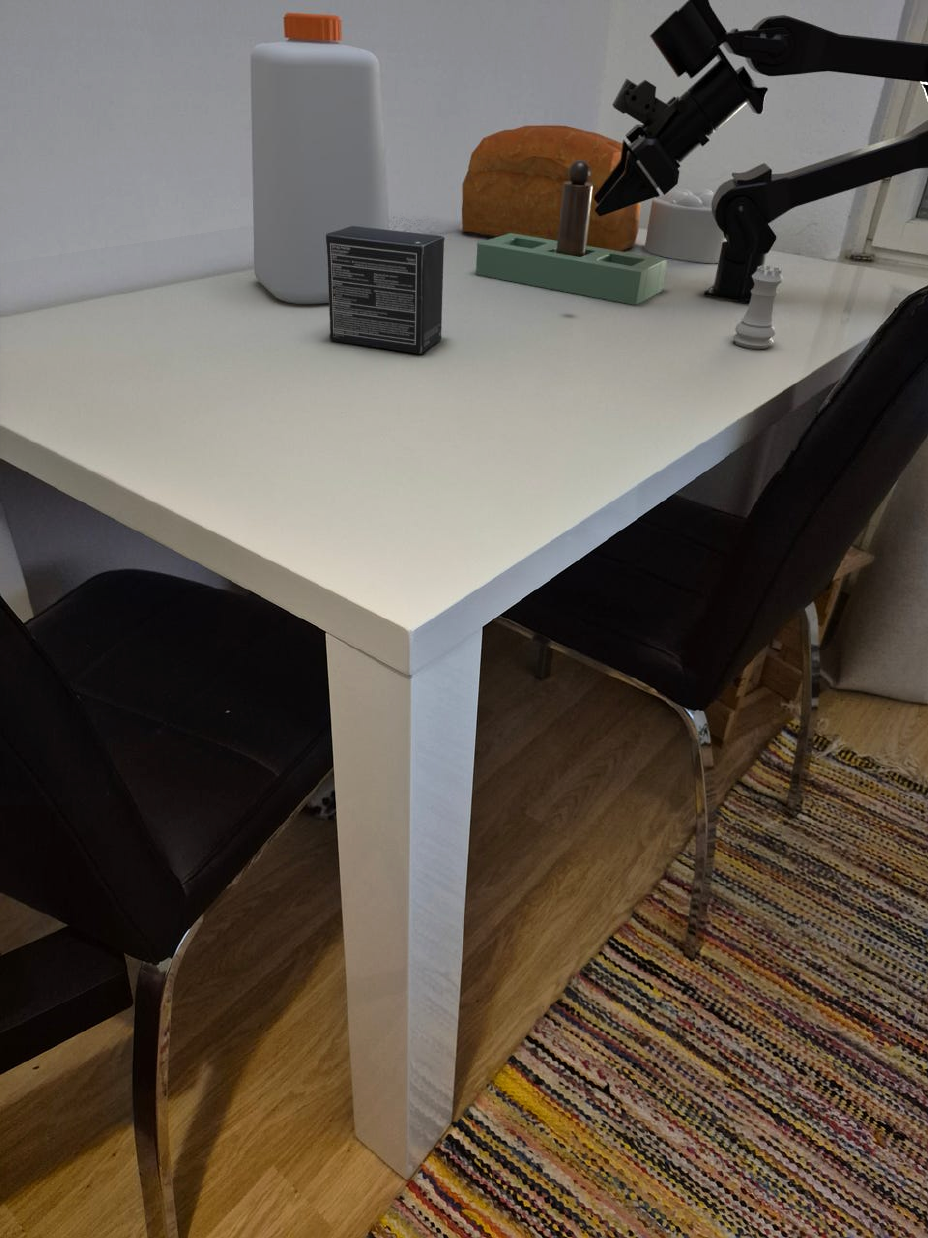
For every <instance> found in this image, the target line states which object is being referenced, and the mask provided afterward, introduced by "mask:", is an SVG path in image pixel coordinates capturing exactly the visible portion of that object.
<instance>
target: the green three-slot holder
mask: <svg viewBox="0 0 928 1238" xmlns="http://www.w3.org/2000/svg"><path fill="white" fill-rule="evenodd" d="M476 244H477V245H476V247H477V248H476V261H475V263H476V264H475V275H477V276H481V277H486V278H490V279H491V278H492V279H497V280H502V281H507V282H513V283H519V284H522V285H528V286H533V287H539V288H544V289H548V290H549V289H550V290H555V291H559V292H565V293H570V294H574V295H579V296H586V297H591V298H596V299H601V300H606V301H612V302H615V303H616V302H617V303H622V304H627V305H632V306H637V305H640V304H641V303H643V302H644V301H646V300H649V299H650V298H652V297H654V296H656V295H658V294H660V293H661V292H663V287H664V283H665V276H666V270H667V264H668V258H663V257H656V256H651V255H645V254H638V253H633V252H626V251H615V250H609V249H603V248H597V247H591V246H586V252H585V256H582V257H577V256H571V255H565V254H559V253H556V250H557V241H555V240H549V239H543V238H537V237H531V236H525V235H519V234H513V233H509V234H506V235H503V236H499V237H494V238H490V239H487V240H483V241H480V242H477V243H476Z"/></svg>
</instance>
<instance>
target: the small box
mask: <svg viewBox="0 0 928 1238" xmlns="http://www.w3.org/2000/svg"><path fill="white" fill-rule="evenodd" d="M326 244H327V257H328V285H329V303H328V305H329V308H328V309H329V340H330V341H332V342H337V343H344V344H351V345H357V346H364V347H365V346H366V347H372V348H376V349H377V348H378V349H384V350H392V351H398V352H405V353H411V354H416V355H417V354H418V355H421V354H423V353H425V352H426V351H427V350H428V349H429V348H431V347H432V346H434V345H435V344H436V343H438V342H439V341H440V340H441V339H442V324H443V322H442V321H443V285H444V282H443V281H444V253H445V251H444V250H445V236H444V235H437V234H427V233H419V232H410V231H402V230H401V231H400V230H393V229H392V230H391V229H390V230H384V229H375V228H367V227H357V226H351V227H348V228H345V229H341V230H338V231H334V232H331V233H327V234H326Z"/></svg>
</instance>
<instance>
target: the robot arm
mask: <svg viewBox="0 0 928 1238" xmlns="http://www.w3.org/2000/svg"><path fill="white" fill-rule="evenodd" d="M649 37H650V39H651V40H652V42H653V43H654V44H655V46H656V47H657V49H658V51H659V52H660V53H661V55H662V56H663V58H664V59H665V61H666V62H667V64H668V65H669V67H670V68H671V69H672V71H673V73H674V74H675V75H676V77H677V78H680V77H681V76H682V75H683V74H687V76H688V77H689V79H690V80H691V79H693V78H694V77H696V76H698V74H699V73H700V72H701V71H703V69H705V68H706V67H707V66H708V65H709V64H710V63H711V62H712V61H714V59H715V58H717V59H718V61H717V62H716V63H715V64H714V65H713V66H712V67H711V68H709V69H708V70H707V71H706V72H705V73H704V74H703V75H702V76H700V78H699V79H697V81H696V82H695V83H694V84H692V85H691V86H690V87H689V88H688V89H687V90H686V91H684V92H683V94H681V96H673V97H671V98H670V99H669V100H668V101H667V102H664V101H663V100H661V99H660V98H658V97H656V93H657V86H656V85H654V84H653V83H651V82H650V81H648V80H646V79H644V80H642V81H641V82H640V83H638V84H636V83H635V82H633V81H631V80H630V79H628V78H626V79H625V80H624V82H623V84H622V86H621V88H620V90H619V91H618V93H617V95H616V97H615V99H614V101H613V103H612V107H613V108H614V109H615V110H617V111H618V112H620V113H621V114H623V115H625V114H627V116H630V117H632V119H634V120H636V121H638V122H639V123H641V124H639V123H638V124H635V125H634V126H633V127H632V128H631V129H630V130H629V131H628V132H627V133H625V138H626V139H627V140H628V141H629V143H627V141H626V140H625V138H624V139H623V140H622V142H621V143H622V152H621V159H620V161H619V162H618V164H617V165H616V167H615V168H614V169H613V171H612V172H611V174H610V175H609V176H608V178H607V179H606V180H605V182H604V183H603V185H602V186H601V187H600V189H599V190H598V191H597V193H596V194H595V196H594V200H595V201H596V202H597V203H598V205H597V207H596V208H595V212H596V213H597V214H598V215H599V216H603V215H606V214H609V213H611V212H614V211H617V210H620V209H622V208H625V207H628V206H631V205H634V204H637V203H640V202H641V203H642V202H645V201H648V200H650V199H653V198H655V197H659V196H661V193H662V195H663V194H664V195H666V194H667V193H669V192H671V191H672V189H674V188H675V187H676V186H677V185H678V184H679V178H680V172H681V171H680V170H679V169H680V167H681V165H680V164H681V163H682V162H683V161H684V160H685V159H686V158H688V156H689V155H691V154H692V153H693V152H694V151H695V150H696V149H698V147H700V146H701V147H704V146H705V145H706V144H707V143H709V142H710V138H709V137H711V136H712V135H713V134H714V133H715V132H717V131H718V130H719V129H720V128H721V127H722V126H723V125H724V124H726V123H727V122H728V121H729V120H730V119H731V118H732V117H733V116H734V115H736V114H737V113H738V112H739V111H740V110H741V109H742V108H743V107H744V106H746V105H748V107H749V108H750V110H751V111H752V113H754V114H757V115H762V114H763V112H764V105H765V98H766V95H767V93H768V91H769V89H768V87H767V86H758V85H757V84H756V83H755V81H754V79H753V78H752V76H751V75H750V74H749V72H748V71H747V69H746V67H745V66H743V65H742V66H741V67H739V68H737V69H735V68H734V67H733V65H732V63H731V62H730V61H729V59H728V58H727V56H726V55H725V53H724V51H723V50H722V49H721V47H720V46H724V49H725V50H726V52H727V53H728V54H732V55H734V56H738V57H742V58H745V61H746V63H747V64H748V67H749V68H750V70H752V71H753V72H754V73H757V74H759V75H764V76H767V77H784V76H794V75H804V74H814V73H825V72H831V73H840V74H847V75H848V74H849V75H858V76H864V77H865V76H867V77H875V78H883V79H892V80H901V81H910V82H917V83H918V82H919V83H920V84H921V86H922V88H923V90H924V93H925V97H926V100H927V101H928V43H921V42H911V41H903V40H896V39H885V38H877V37H867V36H861V35H860V36H859V35H850V34H842V33H837V32H834V31H831V30H828V29H826V28H823V27H820V26H817V25H815V24H813V23H809V22H807V21H804V20H801V19H798V18H795V17H792V16H790V15H785V14H780V15H770V16H767V17H764V18H762V19H760V20H759V21H758V22H757V23H756V24H755V25H754V26H752V28H751V29H744V30H739V29H738V28H732V29H731V30H730V31H729V32H727V30H726V28H725V27H724V25H723V24H722V22H721V20H720V19H719V17H718V16H717V14H716V13H715V11H714V10H713V8H712V6H711V4H710V0H687V1H686V2H684V3H683V5H682V6H680V8H678V9H676V10H674V11H673V12H672V13H670V14H669V16H668V17H667V18H666V19H665V20H663V22H661V23H660V24H659V26H658V27H657V28H656V29H655V30H654V31H653V32H652V33H651V34H650V35H649ZM920 169H928V119H927V120H925V121H924V122H922V123H921V124H920V125H918V126H915V128H913V129H912V130H910V131H908V132H906V133H904V134H900V135H898V136H895V137H892V138H888V139H886V140H883V141H879V142H877V143H874V144H870V145H867V146H864V147H862V148H857V149H855V150H852V151H848V152H846V153H842V154H840V155H837V156H833V157H831V158H828V159H825V160H822V161H819V162H816V163H813V164H809V165H806V166H803V167H800V168H797V169H793V170H792V171H788V172H783V173H782V172H781V173H773V169H772V168H770V166H768V164H766V163H765V162H764V163H761V164H759V165H756V166H755V167H753V168H751V169H749V170H747V171H744V172H731V177H732V178H731V179H728V180H727V181H724V182H723V183H721V184H720V185H719V186H718V188H717V189H716V191H715V192H714V193H715V194H714V196H713V200H712V203H711V206H712V213H713V216H714V219H715V221H716V223H717V225H718V227H719V228H720V229H721V230H722V232H723V234H724V238H726V240H727V241H725V242H723V243H722V248H721V253H720V258H719V263H717V269H716V274H715V278H714V284H713V285H712V286H710V287H709V288H707V289H706V290H704V293H703V295H704V296H708V297H711V298H712V297H713V298H718V299H723V300H729V301H735V302H741V303H745V304H749V303H750V300H751V296H752V293H751V290H752V289H753V288H754V281H753V278H752V275H753V274H754V273H755V272H756V271H757V267H759V266H764V267H765V263H766V260H767V254H769V252H770V251H771V249H772V247H773V245H774V244H775V242H776V241H777V239H778V237H777V235H776V233H775V232H774V230H773V229H772V228H771V226H770V225H769V224H770V223H772V222H774V221H775V220H777V219H778V218H780V217H781V216H783V215H784V214H786V213H787V212H789V211H790V210H792V209H794V208H797V207H800V206H803V205H806V204H810V203H813V202H816V201H820V200H823V199H825V198H829V197H832V196H834V195H838V194H841V193H844V192H847V191H851V190H854V189H857V188H860V187H863V186H866V185H869V184H870V185H871V184H872V183H873V184H874V183H876V182H879V181H882V180H885V179H888V178H891V177H895V176H897V175H902V174H905V173H908V172H912V171H913V170H920ZM658 189H659V190H660V192H661V193H660V192H659V191H658Z"/></svg>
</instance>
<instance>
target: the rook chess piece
mask: <svg viewBox="0 0 928 1238" xmlns="http://www.w3.org/2000/svg"><path fill="white" fill-rule="evenodd" d="M764 268H765V269H764ZM771 269H772V266H771V265H766V267H765V265H764V266H759V267H757V271H756V272H755V273H754V274H753V275H752V278H753V281H754V288H753V289H752V290H751V293H752V296H751V300H750V303H748V306H747V309H746V312H745V314H744V316H743V317H742V318H741V321H740V322H739V323H738V324H736V325H735V328H734V331H735V332H736V334H734V335H732V339H733V341H734V344H736V345H737V346H739V347H742V348H746V349H750V350H751V349H752V350H766V349H768V348H769V347H771V346H772V345H773V344H774V340H773V337H774V336H776V330H775V327H774V322H773V309H774V303H775V299H776V297H777V296H778V292H777V287H778V286H779V285H780V284H781V283H782V282H783V281H784V278H783V276H782V271H783V269H782V268H780V267H778V266H774V267H773V270H771Z"/></svg>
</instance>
